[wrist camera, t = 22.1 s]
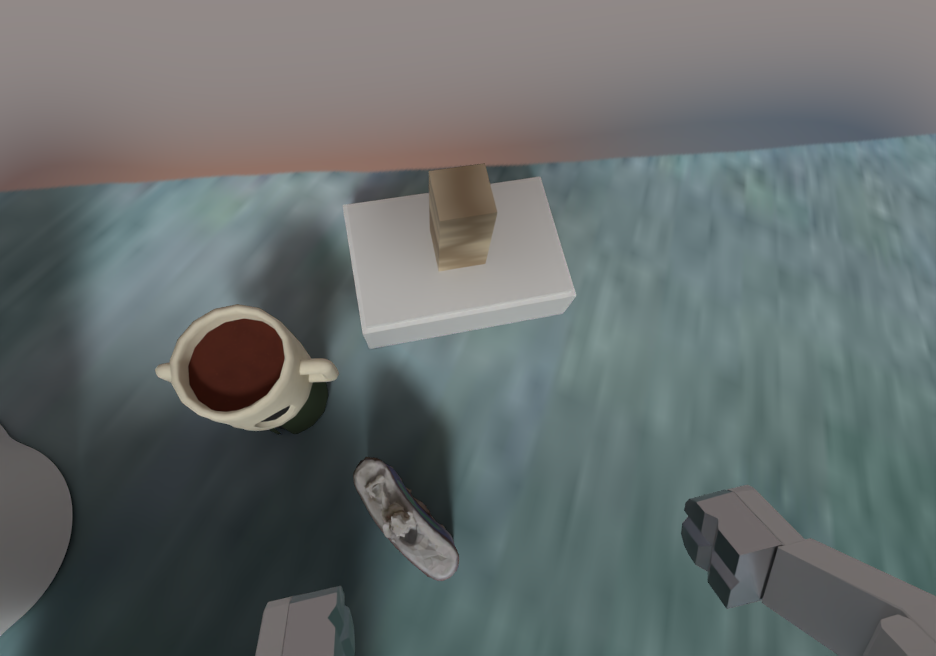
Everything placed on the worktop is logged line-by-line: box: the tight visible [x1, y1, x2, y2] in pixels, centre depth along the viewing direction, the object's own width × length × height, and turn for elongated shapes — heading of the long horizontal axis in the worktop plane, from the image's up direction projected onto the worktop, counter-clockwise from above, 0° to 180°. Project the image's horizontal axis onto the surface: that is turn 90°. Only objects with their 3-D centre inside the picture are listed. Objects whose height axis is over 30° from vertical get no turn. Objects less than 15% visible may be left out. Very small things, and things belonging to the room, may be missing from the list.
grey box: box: [343, 177, 576, 349], centre depth 43 cm, size 18×12×5 cm, turn 102°
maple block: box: [429, 164, 497, 271], centre depth 37 cm, size 4×4×8 cm
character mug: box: [155, 304, 339, 434], centre depth 34 cm, size 11×7×13 cm, turn 93°
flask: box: [353, 457, 459, 581], centre depth 33 cm, size 9×3×11 cm, turn 43°
